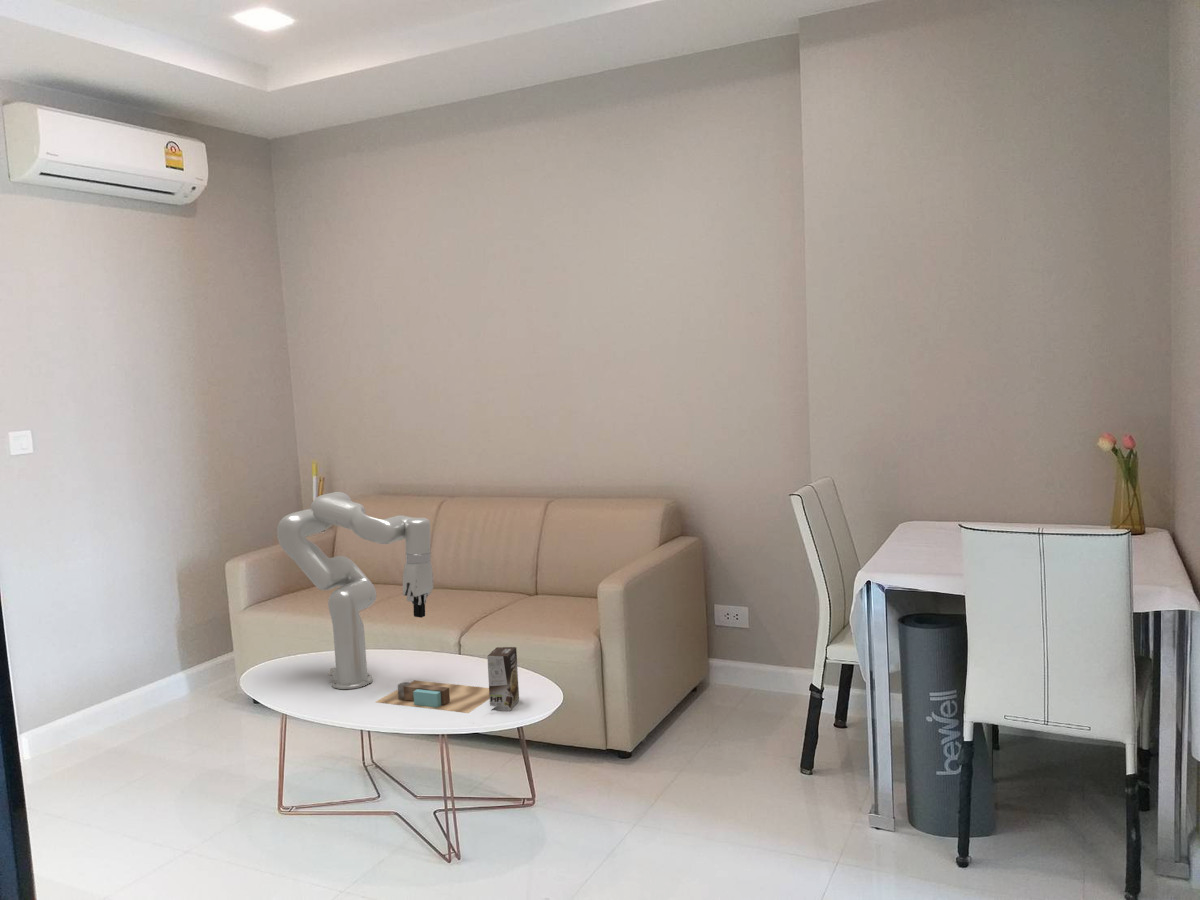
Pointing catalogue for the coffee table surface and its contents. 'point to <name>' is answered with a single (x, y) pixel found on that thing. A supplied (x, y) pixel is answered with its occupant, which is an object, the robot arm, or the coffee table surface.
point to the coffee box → (503, 678)
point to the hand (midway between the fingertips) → (419, 616)
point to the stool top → (459, 701)
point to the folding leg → (407, 689)
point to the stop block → (427, 698)
